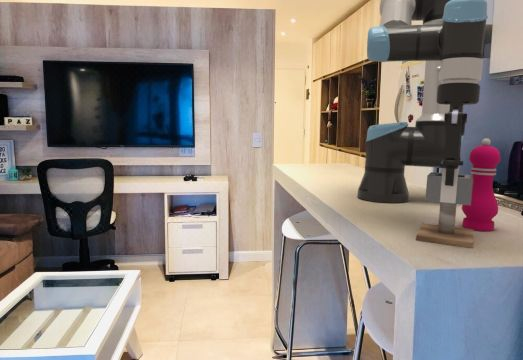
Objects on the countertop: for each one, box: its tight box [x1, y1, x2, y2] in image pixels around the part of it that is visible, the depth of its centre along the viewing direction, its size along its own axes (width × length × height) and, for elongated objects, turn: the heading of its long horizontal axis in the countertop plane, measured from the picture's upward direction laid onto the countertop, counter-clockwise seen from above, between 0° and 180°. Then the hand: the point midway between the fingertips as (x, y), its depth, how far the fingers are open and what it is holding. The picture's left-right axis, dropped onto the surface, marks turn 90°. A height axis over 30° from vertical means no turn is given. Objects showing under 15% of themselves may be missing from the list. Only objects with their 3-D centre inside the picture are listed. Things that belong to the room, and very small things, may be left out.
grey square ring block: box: [424, 172, 473, 206], centre depth 84 cm, size 8×8×5 cm
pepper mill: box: [461, 137, 501, 232], centre depth 93 cm, size 7×7×20 cm
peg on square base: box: [415, 202, 474, 249], centre depth 85 cm, size 12×10×9 cm
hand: (448, 199), depth 84 cm, fingers closed on grey square ring block, 8 cm apart
